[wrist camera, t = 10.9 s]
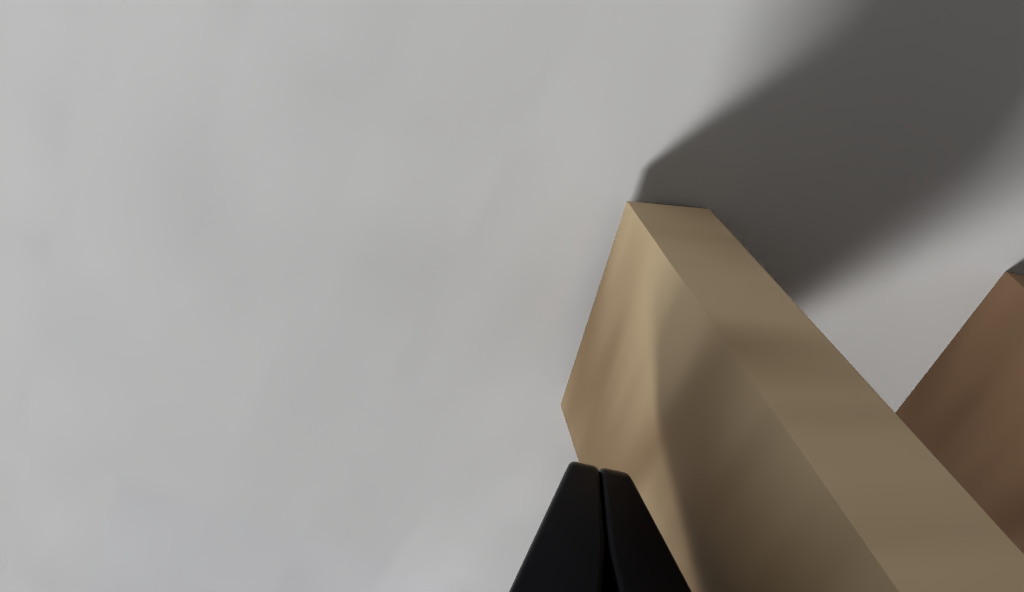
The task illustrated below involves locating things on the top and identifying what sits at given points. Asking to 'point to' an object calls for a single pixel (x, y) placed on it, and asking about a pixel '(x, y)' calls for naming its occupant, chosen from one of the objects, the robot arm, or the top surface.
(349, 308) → the top surface
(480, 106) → the top surface
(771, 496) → the oak domino
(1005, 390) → the domino
